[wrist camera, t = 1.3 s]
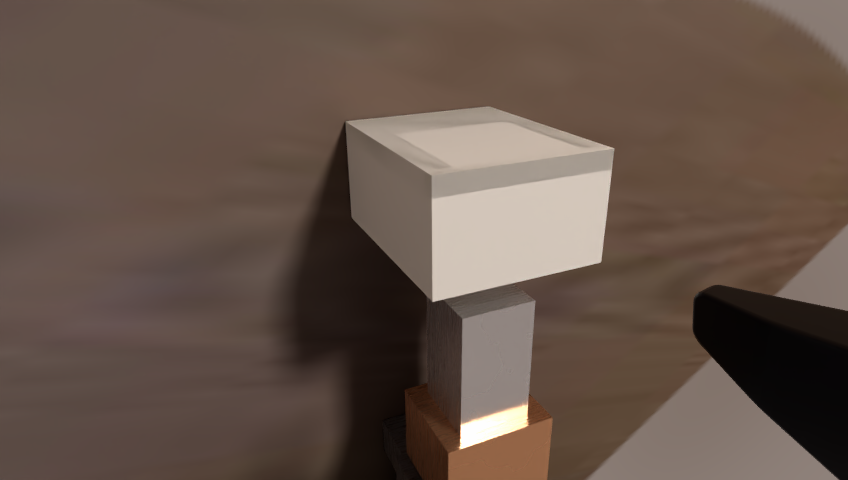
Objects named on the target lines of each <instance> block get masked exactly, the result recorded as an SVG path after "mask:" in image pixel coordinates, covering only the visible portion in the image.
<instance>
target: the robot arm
mask: <svg viewBox="0 0 848 480" xmlns="http://www.w3.org/2000/svg"><path fill="white" fill-rule="evenodd" d="M693 333H694V335H695V338H696V339H697V341H698V342H699V343H700V344H701V346H702V347H703V348H704V349H705V350H706V351H707V352H708V353H709V354H710V355H711V356H712V358H713V359H714V360H715V361H716V362H717V363H718V364H719V365H720V366H721V367H722V368H723V369H724V371H725V372H726V373H727V374H728V375H729V376H730V377H731V378H732V379H733V380H734V381H735V382H736V384H737V385H738V386H739V387H740V388H741V389H742V390H743V391H744V392H745V393H746V394H747V396H749V398H750V399H751V400H752V401H753V402H754V403H755V404H756V405H757V406H758V407H759V408H760V409H761V410H762V411H763V412H764V413H766V414H767V415H768V416H769V417H770V418H771V419H772V420H773V421H774V422H775V423H776V424H777V425H779V426H780V427H781V428H782V429H783V430H784V431H785V432H786V433H787V434H789V435H790V436H791V437H792V438H793V439H794V440H795V441H796V442H797V443H799V444H800V445H801V446H802V447H803V448H804V449H805V450H806V451H808V452H809V453H810V454H811V455H812V456H813V457H814V458H815V459H816V460H817V461H819V462H820V463H821V464H822V465H823V466H824V467H825V468H826V469H827V470H829V471H830V472H831V473H832V474H833V475H834V476H835V477H836V478H838V479H839V480H848V311H845V310H840V309H835V308H830V307H825V306H820V305H816V304H811V303H806V302H801V301H796V300H791V299H786V298H781V297H776V296H772V295H767V294H762V293H757V292H752V291H747V290H742V289H737V288H732V287H727V286H722V285H713V286H711V287H709V288H707V289H705V290H703V291H701V292H698V293H697V294H696V295H695V297H694V302H693Z"/></svg>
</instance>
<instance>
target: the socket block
mask: <svg viewBox="0 0 848 480" xmlns="http://www.w3.org/2000/svg"><path fill="white" fill-rule="evenodd" d="M345 124H346V139H347V155H348V170H349V186H350V201H351V217H352V219H353V220H354V221H355V222H356V223H357V224H358V225H359V226H360V227H361V228H362V229H363V230H364V231H365V232H366V233H367V234H368V235H369V236H370V237H371V238H372V239H373V241H374V242H375V243H376V244H377V245H378V246H379V247H380V248H381V249H382V250H383V251H384V252H385V253H386V254H387V255H388V256H389V257H390V258H391V259H392V260H393V261H394V262H395V263H396V264H397V266H398V267H399V268H400V269H401V270H402V271H403V272H404V273H405V274H406V275H407V276H408V277H409V278H410V279H411V280H412V281H413V282H414V283H415V284H416V285H417V286H418V287H419V288H420V289H421V290H422V292H423V293H424V294H425V295H426V296H427V297H428V298H429V299H430V300H431V301H432V302H435V301H439V300H443V299H447V298H452V297H456V296H460V295H464V294H469V293H473V292H477V291H481V290H486V289H490V288H494V287H498V286H503V285H507V284H511V283H515V282H520V281H524V280H528V279H533V278H537V277H541V276H545V275H550V274H554V273H558V272H562V271H567V270H571V269H575V268H579V267H584V266H588V265H592V264H596V263H601V258H602V250H603V241H604V232H605V224H606V215H607V207H608V198H609V189H610V181H611V172H612V163H613V155H614V148H611V147H608V146H605V145H602V144H599V143H596V142H593V141H590V140H587V139H584V138H581V137H578V136H575V135H572V134H569V133H566V132H563V131H561V130H558V129H555V128H552V127H549V126H546V125H543V124H540V123H537V122H534V121H531V120H528V119H525V118H522V117H519V116H516V115H513V114H510V113H507V112H504V111H501V110H498V109H495V108H492V107H489V106H488V107H479V108H469V109H460V110H450V111H440V112H431V113H421V114H411V115H402V116H392V117H383V118H373V119H363V120H354V121H345Z"/></svg>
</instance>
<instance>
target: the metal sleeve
mask: <svg viewBox="0 0 848 480" xmlns="http://www.w3.org/2000/svg"><path fill="white" fill-rule="evenodd" d="M383 439H384V451H385V452H386V454H387V456H388V458H389V460H390V462H391V463H392V465H393V467H394V469H395V471H396V480H423V479H422V477H421V476H420V474H419V472H418V471H417V469H416V467H415V466H414V464H413V462H412V461H411V459H410V457H409V456H408V454H407V444H406V414H403V415H400V416H396V417H393V418H390V419H387V420H383Z"/></svg>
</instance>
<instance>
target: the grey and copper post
mask: <svg viewBox="0 0 848 480" xmlns="http://www.w3.org/2000/svg"><path fill="white" fill-rule="evenodd" d="M534 311H535V300H534V299H533V298H531V297H530V296H529V295H527V294H526V293H525V292H523V291H522V290H521V289H520V288H518V287H517V286H516V285H514V284H513V283H511V284H507V285H503V286H498V287H494V288H490V289H486V290H481V291H477V292H473V293H469V294H464V295H460V296H456V297H452V298H447V299H443V300H439V301H435V302H432V301H431V300H430V299H429V298H428V297H427V373H428V383H426V384H422V385H419V386H415V387H412V388H409V389H405V411H406V444H407V454H408V456H409V457H410V459H411V461H412V462H413V464H414V466H415V467H416V469H417V471H418V472H419V474H420V476H421V477H422V479H423V480H547V474H548V463H549V452H550V441H551V430H552V419H553V417H552V416H551V415H550V414H549V413H548V412H547V411H546V410H545V409H544V408H543V407H542V406H541V405H540V404H539V403H538V402H537V401H536V400H535V399H534V398H533V397H532V396H531V395H530V394H529V383H530V369H531V354H532V340H533V326H534Z"/></svg>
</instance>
